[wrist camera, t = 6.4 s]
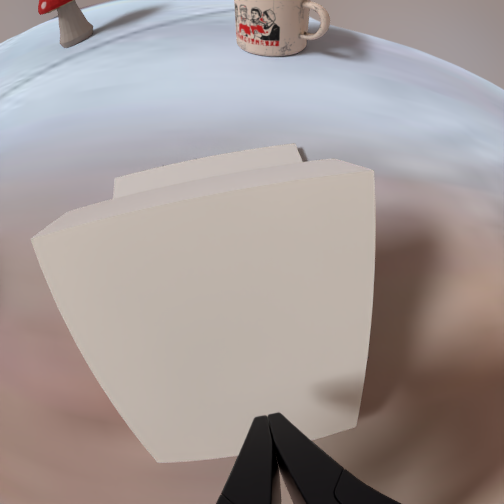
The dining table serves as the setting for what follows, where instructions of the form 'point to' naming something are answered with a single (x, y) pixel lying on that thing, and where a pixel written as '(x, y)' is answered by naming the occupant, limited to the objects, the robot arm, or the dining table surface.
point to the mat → (206, 168)
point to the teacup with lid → (276, 25)
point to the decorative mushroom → (68, 21)
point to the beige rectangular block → (223, 302)
